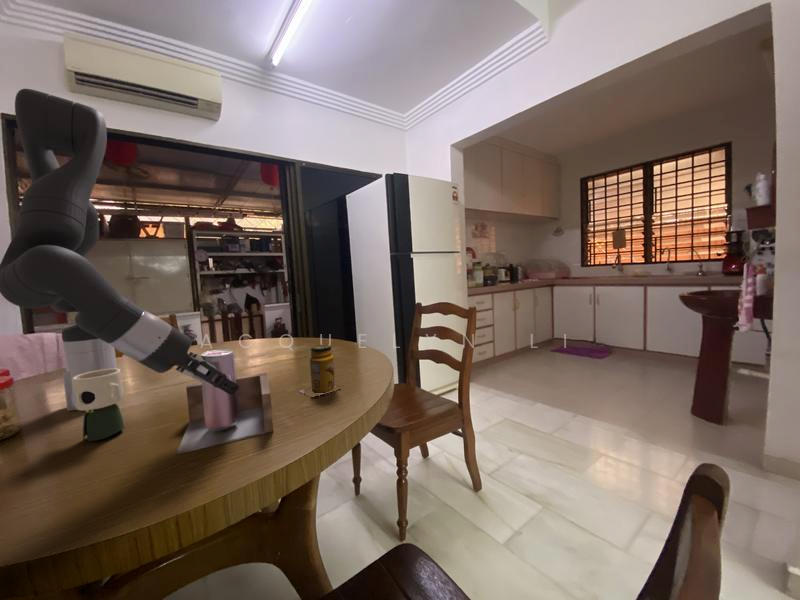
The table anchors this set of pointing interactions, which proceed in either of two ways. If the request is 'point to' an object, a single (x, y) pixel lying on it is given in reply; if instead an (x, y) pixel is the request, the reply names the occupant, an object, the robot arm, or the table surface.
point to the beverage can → (220, 392)
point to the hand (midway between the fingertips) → (228, 387)
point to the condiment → (321, 369)
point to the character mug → (99, 402)
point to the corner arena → (250, 411)
